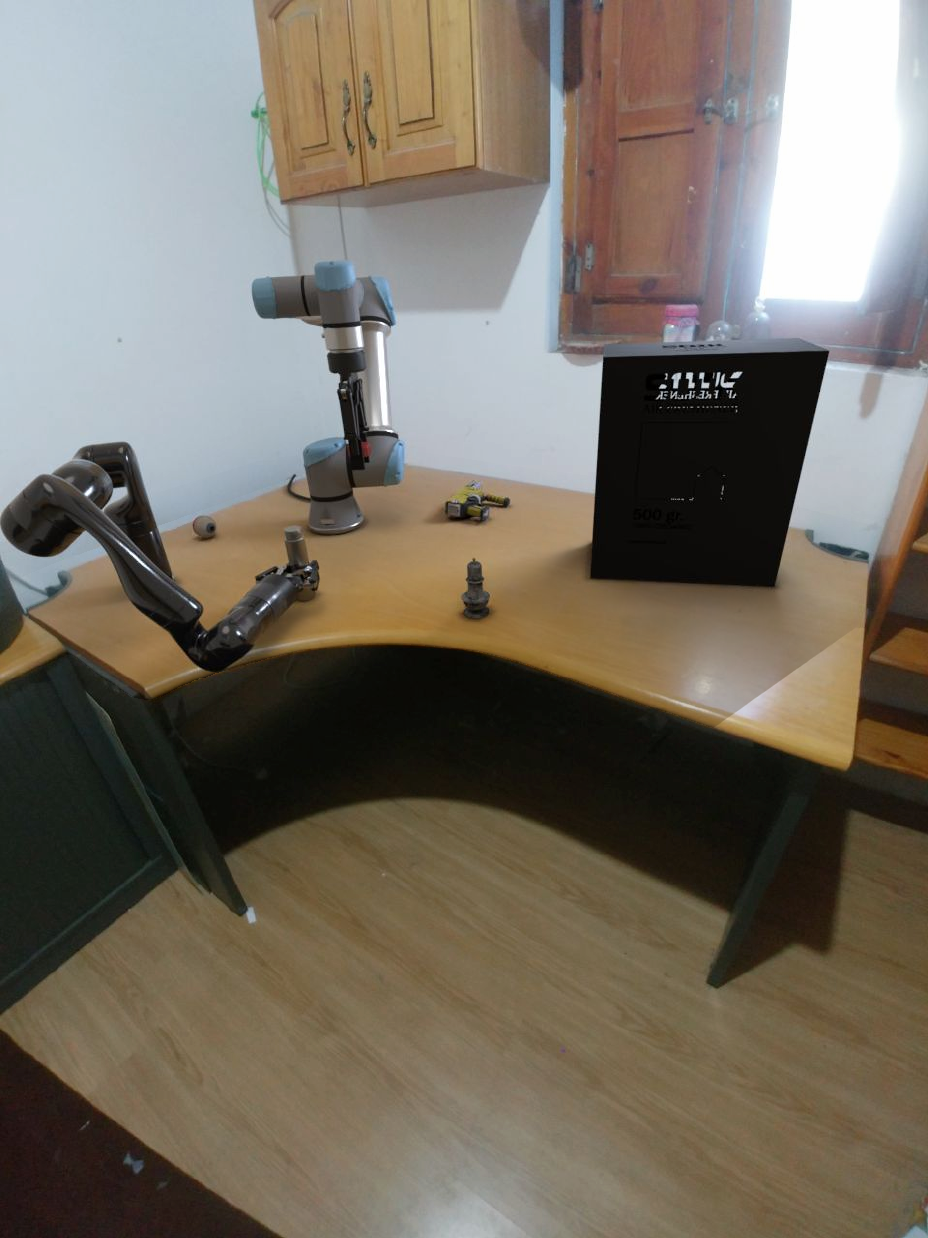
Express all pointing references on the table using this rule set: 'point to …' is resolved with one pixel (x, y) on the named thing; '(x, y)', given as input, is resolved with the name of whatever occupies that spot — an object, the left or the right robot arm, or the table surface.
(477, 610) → the dark grey chess piece
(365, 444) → the lid
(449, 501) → the toy gun
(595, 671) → the table surface
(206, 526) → the eyeball
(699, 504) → the cardboard box
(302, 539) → the bottle
